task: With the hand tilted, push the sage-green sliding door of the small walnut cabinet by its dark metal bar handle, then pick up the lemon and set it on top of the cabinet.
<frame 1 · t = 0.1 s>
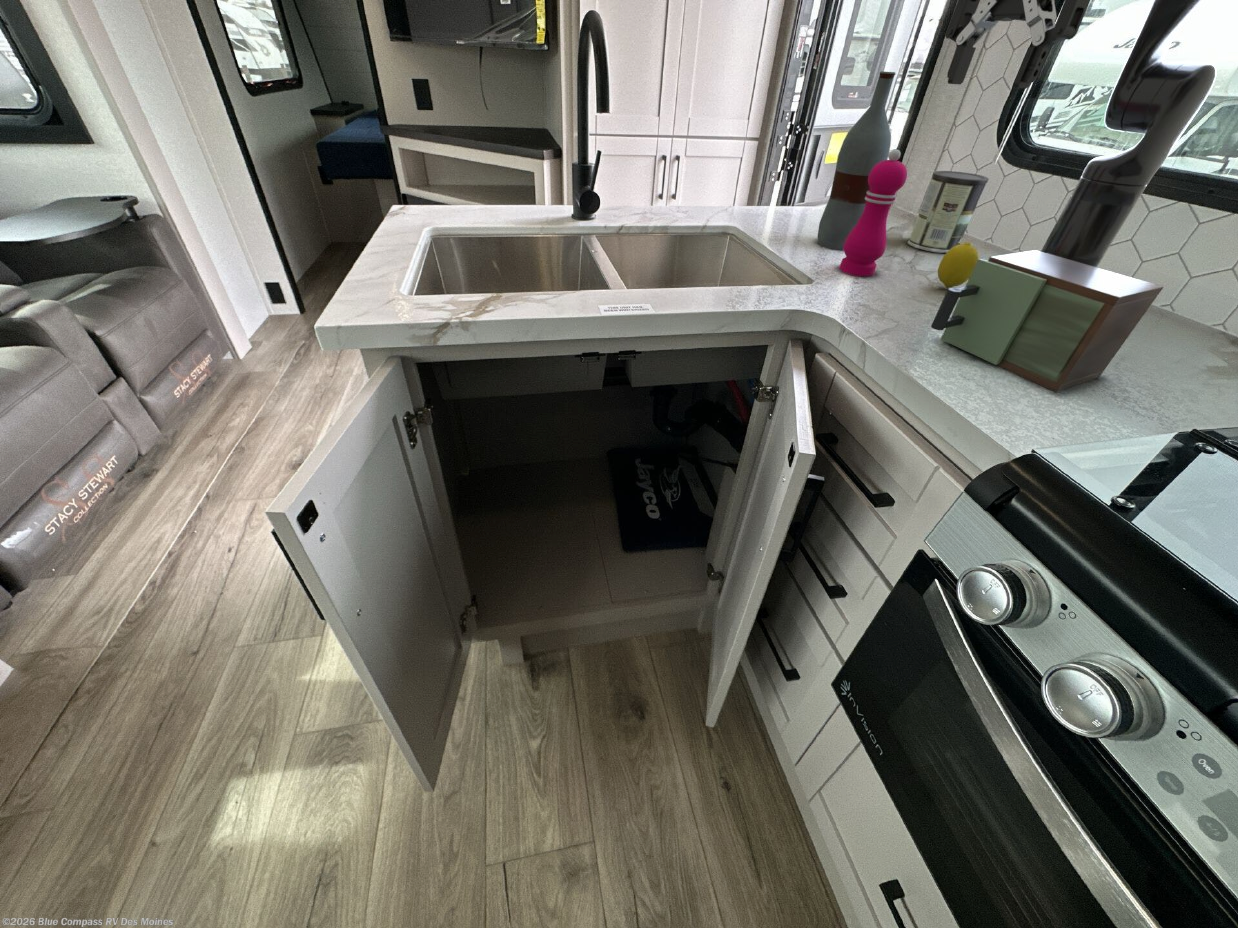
hand: (985, 86, 63), 29 cm above the worktop, tool pointing down, fingers open, 8 cm apart
lemon: (946, 289, 92), on the worktop
bottle: (836, 245, 112), on the worktop
door: (976, 315, 66), point 6 cm above the worktop, slide at 0.0 cm
cabinet: (1020, 359, 70), on the worktop
pepper mill: (855, 272, 98), on the worktop
coffee can: (931, 247, 114), on the worktop
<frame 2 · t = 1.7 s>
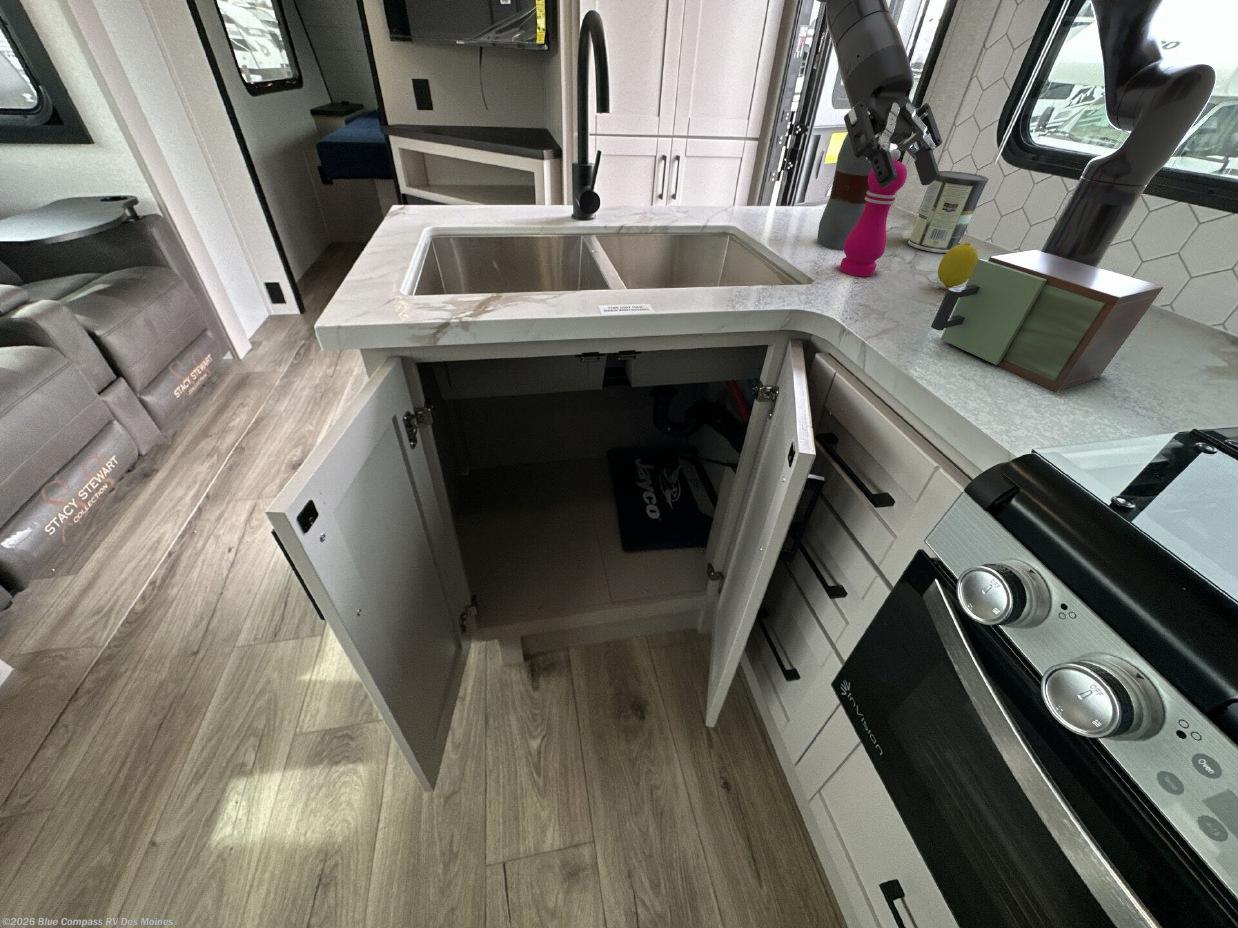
hand: (910, 182, 67), 19 cm above the worktop, tool tilted 45°, fingers open, 8 cm apart
nothing on the worktop moved.
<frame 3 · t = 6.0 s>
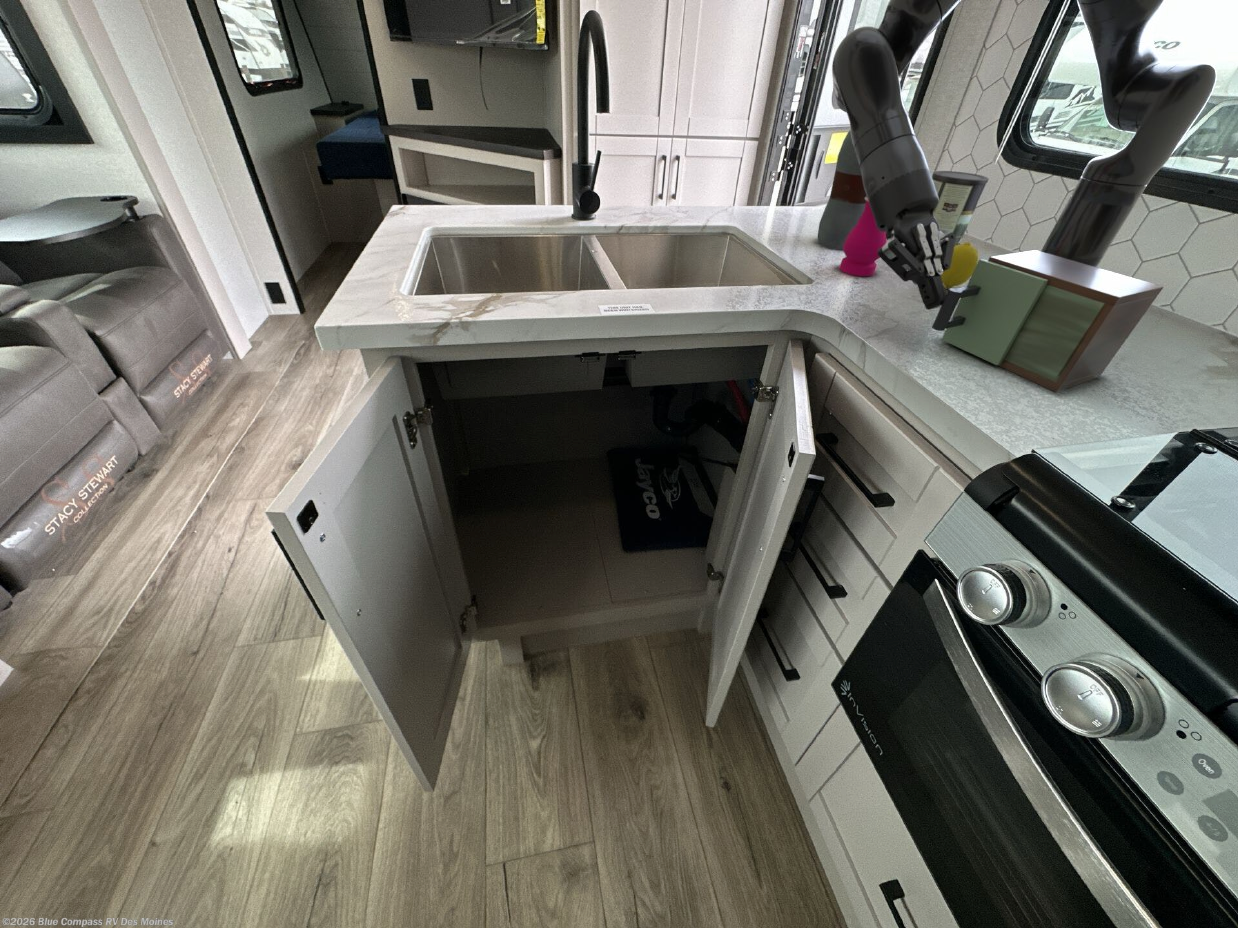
hand: (937, 306, 68), 6 cm above the worktop, tool tilted 45°, fingers closed
door: (977, 315, 66), point 6 cm above the worktop, slide at 0.2 cm, touching gripper
everything else where it was.
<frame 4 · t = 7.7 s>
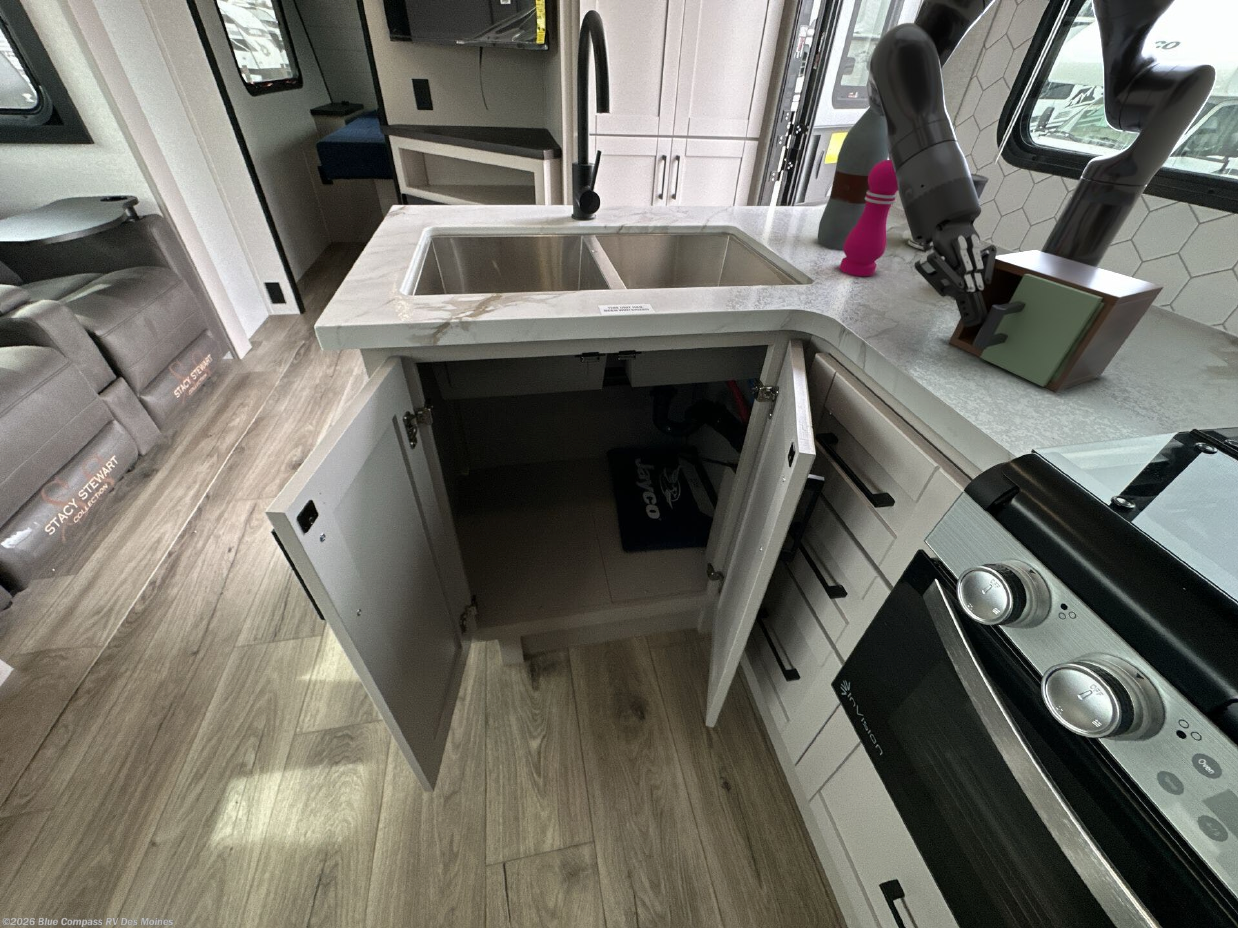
hand: (977, 324, 64), 6 cm above the worktop, tool tilted 45°, fingers closed
door: (1022, 333, 62), point 6 cm above the worktop, slide at 6.1 cm, touching gripper
everything else where it was.
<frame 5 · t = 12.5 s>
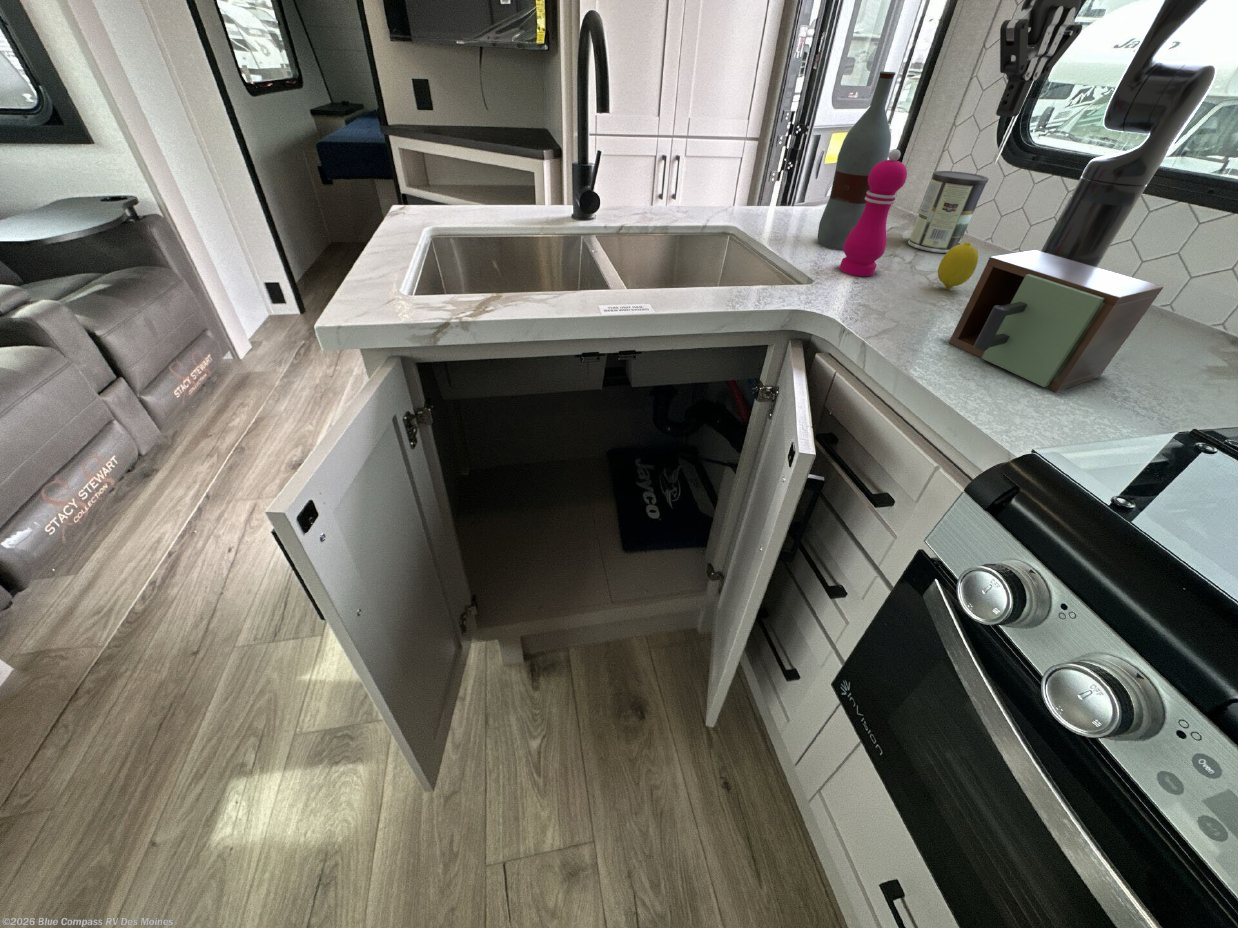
hand: (1006, 116, 67), 26 cm above the worktop, tool pointing down, fingers closed
door: (1024, 334, 62), point 6 cm above the worktop, slide at 6.3 cm
everything else where it was.
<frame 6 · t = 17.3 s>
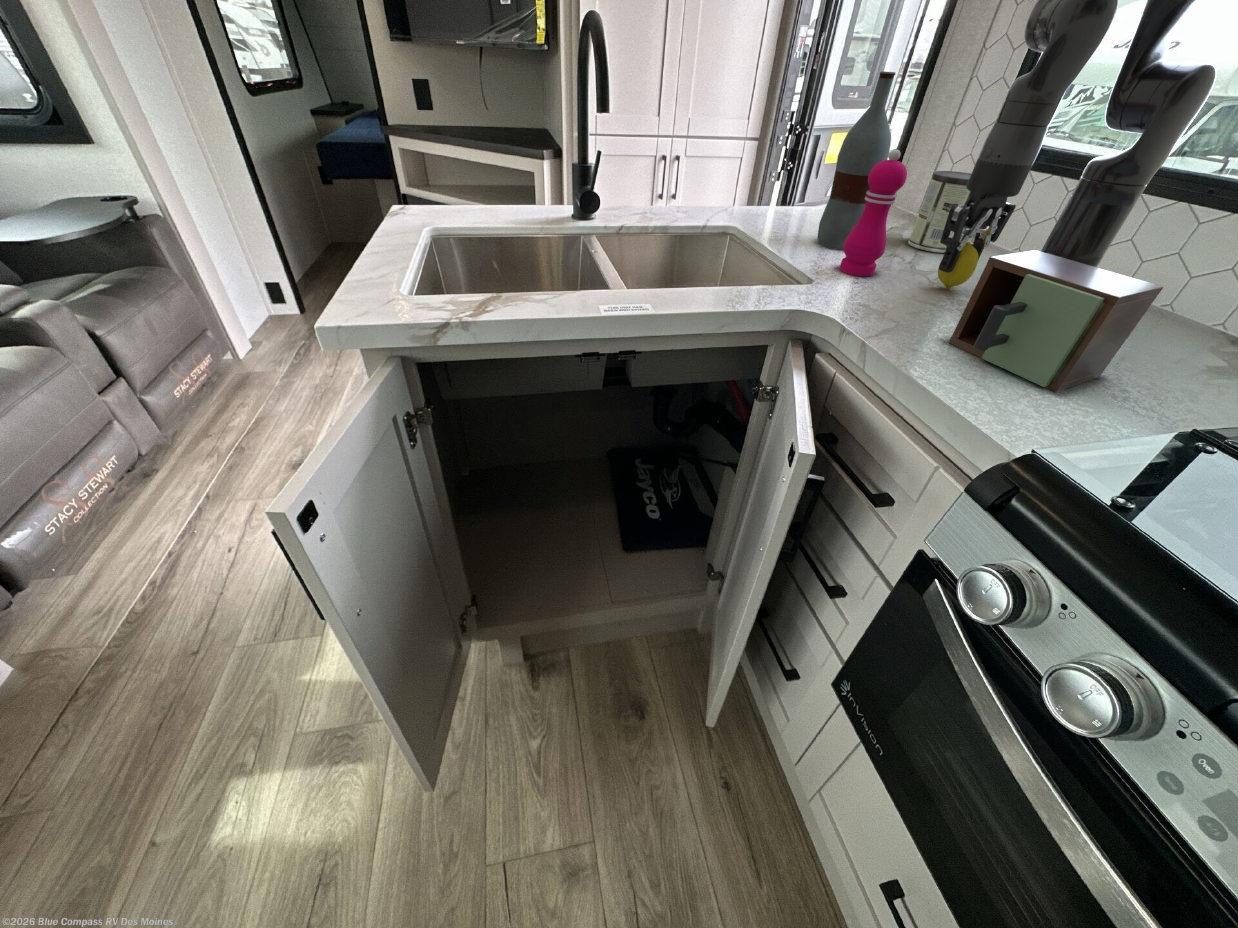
hand: (956, 269, 90), 4 cm above the worktop, tool pointing down, fingers closed on lemon, 5 cm apart
lemon: (946, 289, 92), on the worktop, touching gripper
everything else where it was.
when the fingers open (16 cm above the worktop, at t = 24.4 s): lemon stays where it is, resting on cabinet.
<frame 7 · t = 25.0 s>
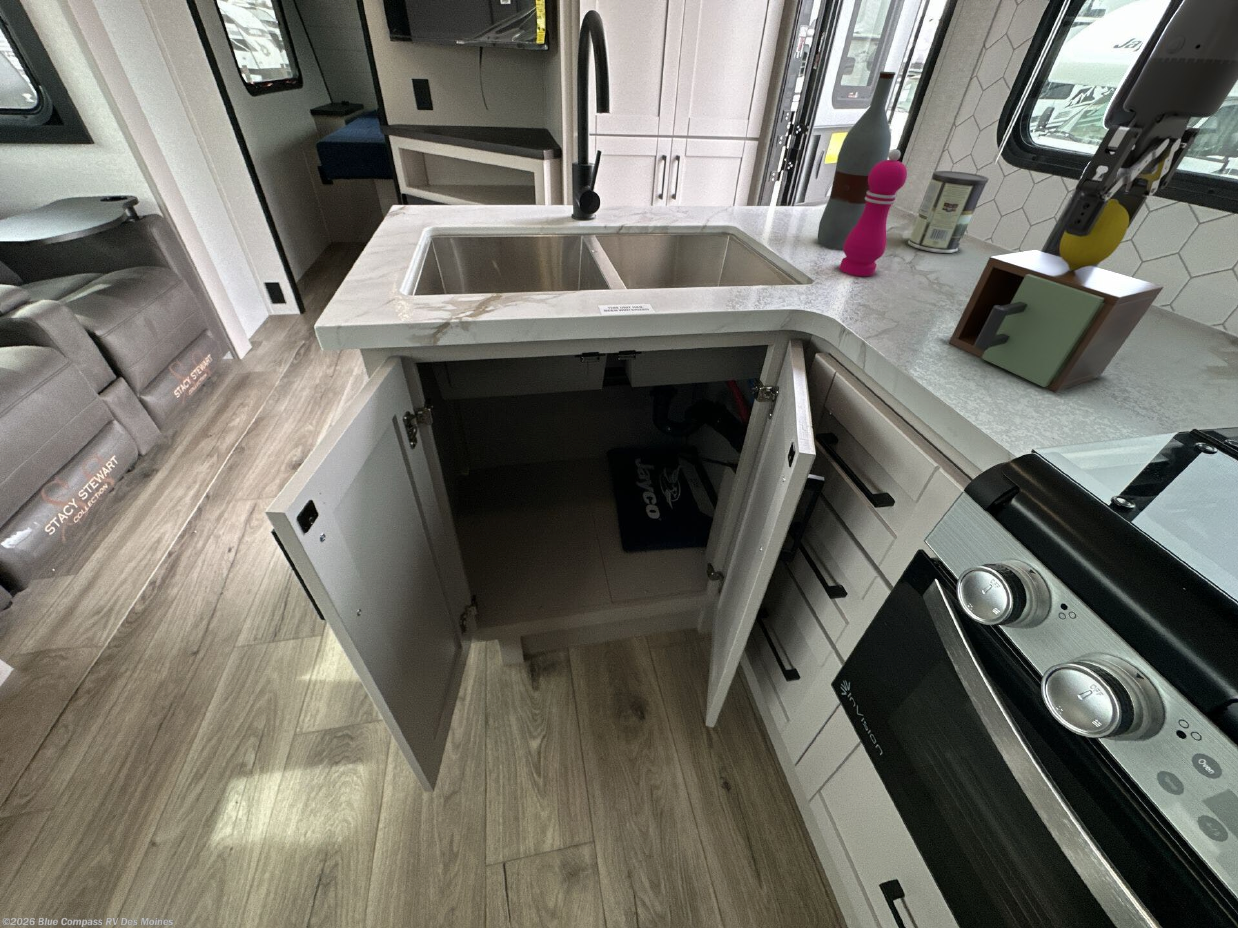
hand: (1095, 232, 60), 17 cm above the worktop, tool pointing down, fingers open, 8 cm apart
lemon: (1071, 272, 63), point 12 cm above the worktop, touching cabinet
everything else where it was.
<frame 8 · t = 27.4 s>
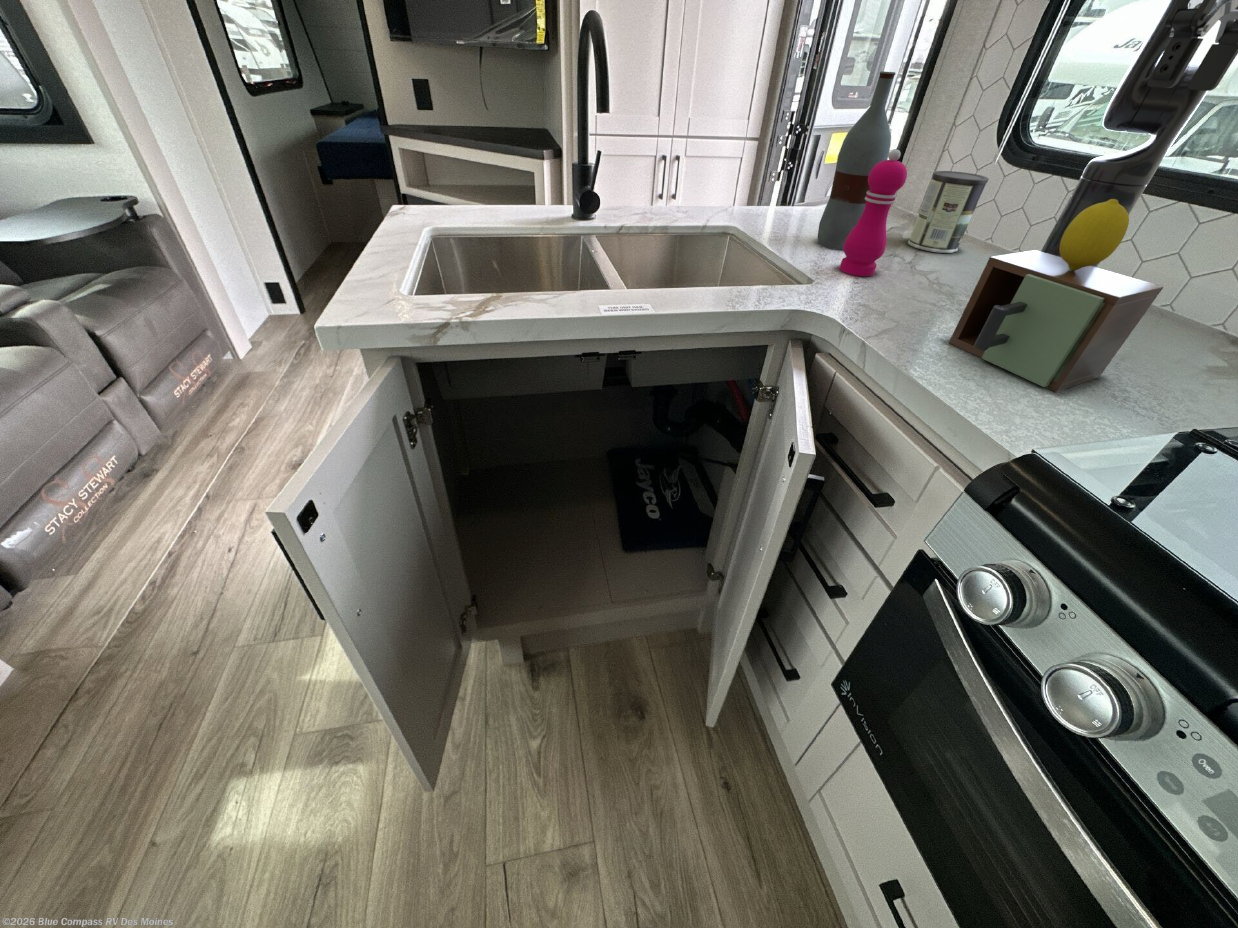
hand: (1180, 89, 52), 30 cm above the worktop, tool pointing down, fingers open, 8 cm apart
nothing on the worktop moved.
at the end: door slide at 6.3 cm; lemon inside the target area on the cabinet (0.1 cm from its centre), point 11.8 cm above the cabinet's base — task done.
